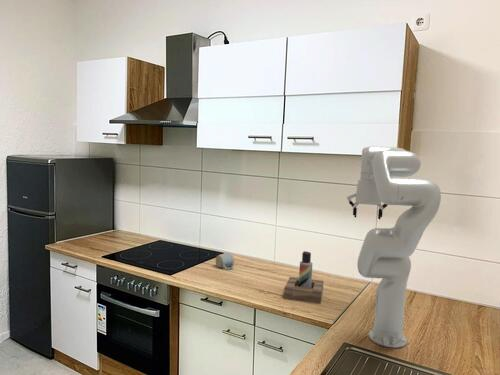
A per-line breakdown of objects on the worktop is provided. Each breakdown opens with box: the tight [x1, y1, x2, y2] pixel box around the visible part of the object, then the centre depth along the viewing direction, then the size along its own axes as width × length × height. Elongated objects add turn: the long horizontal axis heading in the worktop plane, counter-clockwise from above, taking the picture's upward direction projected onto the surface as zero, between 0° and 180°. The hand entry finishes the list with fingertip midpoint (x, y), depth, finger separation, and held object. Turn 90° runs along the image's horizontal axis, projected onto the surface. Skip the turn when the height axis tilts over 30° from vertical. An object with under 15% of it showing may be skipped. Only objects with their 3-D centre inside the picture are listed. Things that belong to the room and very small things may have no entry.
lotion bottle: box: [298, 250, 313, 288], centre depth 173 cm, size 6×6×20 cm
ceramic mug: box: [215, 251, 235, 271], centre depth 211 cm, size 11×8×8 cm
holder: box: [283, 276, 325, 304], centre depth 174 cm, size 16×16×5 cm
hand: (367, 217), depth 160 cm, fingers open, 9 cm apart
